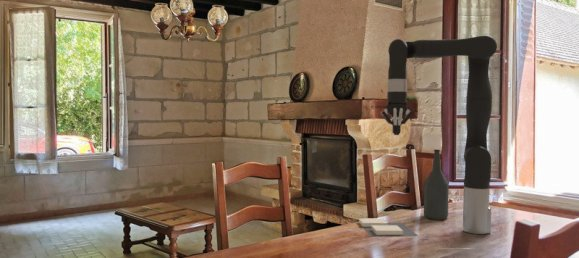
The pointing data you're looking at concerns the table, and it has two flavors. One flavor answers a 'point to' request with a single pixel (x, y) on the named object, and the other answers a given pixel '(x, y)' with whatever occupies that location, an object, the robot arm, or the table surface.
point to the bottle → (436, 192)
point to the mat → (405, 233)
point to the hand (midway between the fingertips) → (396, 134)
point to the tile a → (372, 221)
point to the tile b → (387, 230)
